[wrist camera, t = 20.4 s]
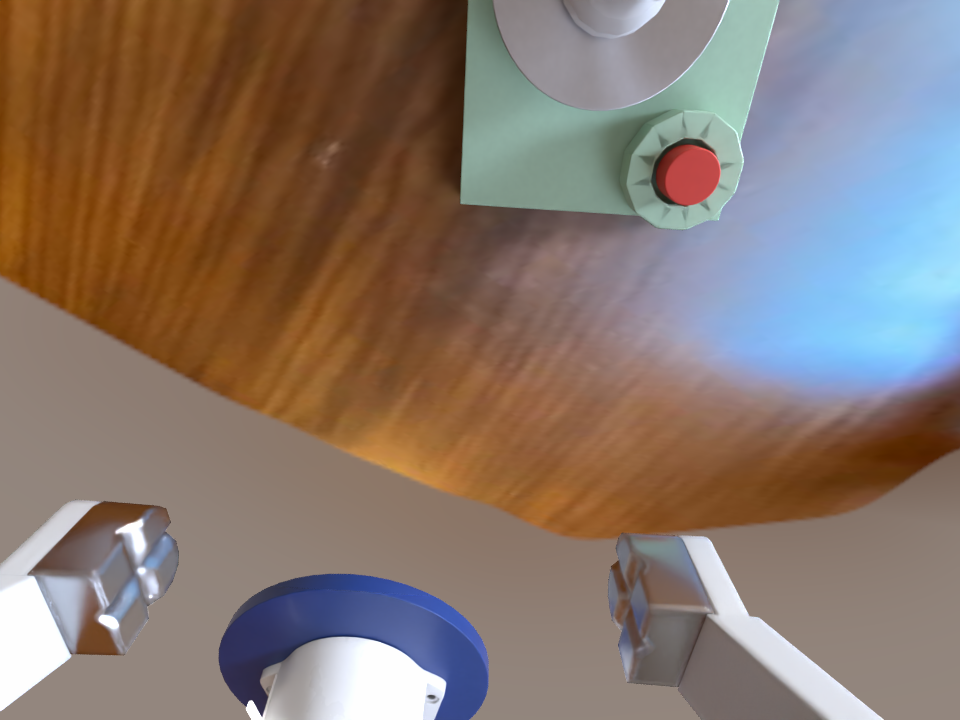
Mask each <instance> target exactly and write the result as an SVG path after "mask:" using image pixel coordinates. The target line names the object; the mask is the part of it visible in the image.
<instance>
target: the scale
mask: <svg viewBox="0 0 960 720" xmlns="http://www.w3.org/2000/svg"><path fill="white" fill-rule="evenodd" d="M778 4H779V0H729V3H728V6H727V8H726V11H725V13H724V16H723V18H722V20H721V23H720V24H719V26H718V28H717V30H716V32H715V34H714V36H713V38H712V39H711V41H710V42H709V44H708V45H707V47H706V48H705V50H704V51H703V53H702V54H701V55H700V57H699V58H698V59H697V60H696V61H695V63H694V64H693V65H692V66H691V67H690V68H689V69H688V70H687V71H686V72H685V73H684V74H683V75H682V76H681V77H680V78H679V79H678V80H677V81H675V82H674V83H673V84H672V85H670V86H669V87H668V88H666V89H665V90H663V91H662V92H660V93H658V94H657V95H655V96H653V97H652V98H650V99H648V100H645V101H643V102H641V103H638V104H636V105H633V106H629V107H626V108H622V109H616V110H609V111H590V110H583V109H578V108H574V107H571V106H568V105H564V104H562V103H560V102H558V101H556V100H554V99H551V98H550V97H548V96H547V95H545V94H544V93H542V92H541V91H539V90H538V89H537V88H536V87H535V86H534V85H532V84H531V83H530V82H529V81H528V80H527V79H526V78H525V76H524V75H523V74H522V73H521V72H520V71H519V69H518V68H517V66H516V65H515V63H514V62H513V60H512V59H511V57H510V56H509V53H508V51H507V49H506V47H505V45H504V43H503V41H502V38H501V35H500V32H499V29H498V26H497V23H496V18H495V14H494V9H493V1H492V0H468V15H467V40H466V65H465V89H464V114H463V139H462V164H461V189H460V204H468V205H484V206H499V207H514V208H529V209H544V210H560V211H575V212H590V213H605V214H621V215H636V216H641V217H642V218H643V219H645V220H646V221H647V222H649V223H650V224H651V225H653V226H654V227H656V228H659V229H674V230H686V229H689V228H691V227H693V226H696V225H698V224H700V223H702V222H704V221H707V220H712V221H718V220H719V217H720V213H721V210H722V207H723V206H724V205H725V204H726V203H727V202H728V201H729V199H730V198H731V197H732V196H733V195H734V193H735V191H736V188H737V185H738V181H739V178H740V174H741V171H742V167H743V164H744V162H743V161H744V158H743V154H742V150H741V146H740V141H741V137H742V134H743V130H744V127H745V123H746V119H747V116H748V112H749V109H750V105H751V101H752V98H753V94H754V91H755V87H756V83H757V80H758V76H759V72H760V69H761V65H762V62H763V58H764V54H765V51H766V47H767V44H768V40H769V36H770V33H771V29H772V26H773V22H774V18H775V15H776V11H777V7H778ZM685 144H690V145H695V146H698V147H701V148H704V149H707V150H709V151H711V152H712V153H713V154H714V155H715V156H716V157H717V159H718V161H719V164H720V169H721V173H720V179H719V182H718V185H717V187H716V189H715V190H714V191H713V193H712V194H711V195H710V196H709V197H708V198H707V199H705V200H704V201H702V202H700V203H698V204H695V205H689V206H685V205H680V204H677V203H675V202H674V201H672V200H671V199H669V198H668V197H666V196H665V195H663V194H662V193H661V191H660V190H659V188H658V186H657V183H656V171H657V167H658V165H659V163H660V161H661V159H662V158H663V157H664V155H665V154H666V153H667V152H669V151H670V150H671V149H673V148H675V147H677V146H680V145H685Z"/></svg>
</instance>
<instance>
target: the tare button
mask: <svg viewBox="0 0 960 720" xmlns="http://www.w3.org/2000/svg"><path fill="white" fill-rule="evenodd" d="M720 173H721V169H720V164H719V161H718V159H717V157H716V156H715V155H714V154H713V153H712V152H711V151H709V150H707V149H704V148H701V147H698V146H695V145H690V144H685V145H680V146H677V147H675V148H673V149H671V150H670V151H669V152H667V153H666V154H665V155H664V157H663V158H662V159H661V161H660V163H659V165H658V167H657V171H656V183H657V186H658V188H659V190H660V191H661V193H662V194H663V195H665V196H666V197H668V198H669V199H671V200H672V201H674V202H675V203H677V204H680V205H685V206H689V205H695V204H698V203H700V202H702V201H704V200H705V199H707V198H708V197H709V196H710V195H711V194H712V193H713V191H714V190H715V189H716V187H717V185H718V182H719V179H720Z"/></svg>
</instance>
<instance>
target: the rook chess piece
mask: <svg viewBox="0 0 960 720" xmlns="http://www.w3.org/2000/svg"><path fill="white" fill-rule="evenodd" d="M563 1H564V5H565V6H566V8H567V10H568V12H569V13H570V15H571V17H572V18H573V20H574V22H575V24H577V25H578V26H580V27H581V28H582V29H584V30H585V31H586V32H588V33H589V34H591V35H592V36H597V37H603V38H609V39H615V38H618V37H621V36H624V35H628V34H631V33H634V32H635V31H636V30H638V29H639V28H640V27H641V26H643V25H644V24H645V23H646V22H648V21H649V20H650V19H651V18H653V17H654V16H655V15H656V14H657V13H658V12H659V10H660V8H661V7H662V5H663V4H664V2H665V0H563Z"/></svg>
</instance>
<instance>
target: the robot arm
mask: <svg viewBox="0 0 960 720" xmlns="http://www.w3.org/2000/svg"><path fill="white" fill-rule="evenodd" d="M170 523H171V521H170V518H169V515H168V512H167V509H166V508H163V507H160V506H154V505H142V504H130V503H117V502H106V501H104V502H98V501H87V500H73V501H70V502H68V503H66V504H64V505H63V506H62V507H61V508H60V509H58V510H57V511H56V512H55V513H54V514H53V515H52V516H51V517H50V518H49V519H48V520H47V521H46V522H45V523H44V524H43V525H42V526H41V527H40V528H38V529H37V530H36V531H35V532H34V533H33V534H32V535H31V536H30V537H29V538H28V539H27V540H26V541H25V542H24V543H23V544H22V545H20V546H19V547H18V548H17V549H16V550H15V551H14V552H13V553H12V554H11V555H10V556H9V557H8V558H7V559H6V560H5V561H3V562H2V563H1V564H0V711H1V710H3V709H4V708H5V707H7V706H8V705H9V704H11V703H12V702H13V701H15V700H16V699H17V698H18V697H20V696H21V695H22V694H24V693H25V692H26V691H28V690H29V689H30V688H31V687H33V686H34V685H35V684H36V683H38V682H39V681H40V680H42V679H43V678H44V677H46V676H47V675H48V674H50V673H51V672H52V671H54V670H55V669H56V668H58V667H59V666H60V665H62V664H63V663H64V662H65V661H67V660H68V659H69V658H71V655H70V654H89V655H125V654H126V652H127V650H128V649H129V648H130V646H131V645H132V643H133V642H134V640H135V639H136V637H137V636H138V634H139V633H140V631H141V630H142V628H143V627H144V625H145V623H146V622H147V620H148V619H149V618H148V609H147V606H149V605H150V604H152V603H153V602H155V601H156V600H158V599H159V598H161V597H163V596H164V594H165V593H166V591H167V589H168V588H169V586H170V585H171V583H172V582H173V579H174V576H175V573H176V570H177V567H178V558H179V551H178V547H177V543H176V541H175V540H174V539H173V538H172V537H171V536H170V535H169V534H167V533H166V532H165V530H166V529H167V527H168V526H169V524H170ZM616 551H617V555H618V559H619V561H617V562H616V563H615V564H613V565H612V566H611V570H610V575H609V579H608V580H609V581H608V599H609V607H610V612H611V616H612V621H613V622H614V623H615V624H616V625H617V626H618V627H619V628H620V630H622V632H621V636H620V640H619V644H618V647H619V651H620V655H621V659H622V663H623V667H624V671H625V675H626V679H627V683H636V684H646V685H659V686H670V687H679V688H678V691H679V692H680V693H681V695H682V696H683V697H684V698H685V700H686V701H687V702H688V703H689V705H690V706H691V707H692V708H693V710H694V711H695V712H696V713H697V715H698V716H699V717H700V718H701V720H883V719H882V718H881V717H880V716H878V715H877V714H876V713H875V712H874V711H872V710H871V709H870V708H869V707H867V706H866V705H865V704H864V703H863V702H861V701H860V700H859V699H858V698H856V697H855V696H854V695H853V694H852V693H850V692H849V691H848V690H847V689H845V688H844V687H843V686H842V685H841V684H839V683H838V682H837V681H836V680H834V679H833V678H832V677H831V676H829V675H828V674H827V673H826V672H825V671H823V670H822V669H821V668H820V667H819V666H817V665H816V664H815V663H814V662H812V661H811V660H810V659H809V658H808V657H806V656H805V655H804V654H803V653H801V652H800V651H799V650H798V649H796V648H795V647H794V646H793V645H791V644H790V643H789V642H788V641H787V640H786V639H784V638H783V637H782V636H781V635H779V634H778V633H777V632H776V631H774V630H773V629H772V628H771V627H770V626H768V625H767V624H766V623H765V622H763V621H762V620H761V619H760V618H759V617H749V615H748V613H747V611H746V609H745V607H744V605H743V603H742V601H741V599H740V597H739V595H738V594H737V591H736V589H735V588H734V585H733V583H732V582H731V580H730V578H729V576H728V574H727V572H726V570H725V568H724V566H723V564H722V562H721V560H720V558H719V556H718V554H717V552H716V550H715V548H714V547H713V544H712V542H711V541H710V540H709V539H708V538H707V537H701V536H681V535H678V536H675V535H658V534H638V533H621V535H620V536H619V538H618V541H617V545H616ZM260 683H261V685H262V687H263V689H264V691H265V692H266V694H267V696H268V700H267V704H266V707H265V710H264V713H263V717H262V718H261V716H260V714H259V712H258V710H257V709H256V707H255V705H254V703H253V701H249V703H248V705H247V708H246V710H247V711H248V713H249V715H250V717H251V719H252V720H434V719H435V717H436V714H437V712H438V709H439V707H440V704H441V702H442V699H443V697H444V694H445V689H446V682H445V680H444V679H442V678H441V677H439V676H437V675H435V674H432V673H430V672H428V671H425V670H424V669H422V668H421V667H420V666H418V665H417V664H416V663H415V662H414V661H413V660H412V659H411V658H410V657H408V656H407V655H406V654H404V653H403V652H401V651H399V650H397V649H395V648H393V647H391V646H389V645H386V644H384V643H381V642H377V641H374V640H369V639H364V638H357V637H329V638H323V639H318V640H314V641H311V642H308V643H306V644H304V645H302V646H300V647H298V648H297V649H296V650H294V651H293V652H292V653H291V654H290V655H289V656H288V657H287V658H286V659H285V660H284V661H282V662H280V663H277V664H274V665H271V666H269V667H267V668H265V669H264V670H263V672H262V675H261V679H260Z"/></svg>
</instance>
